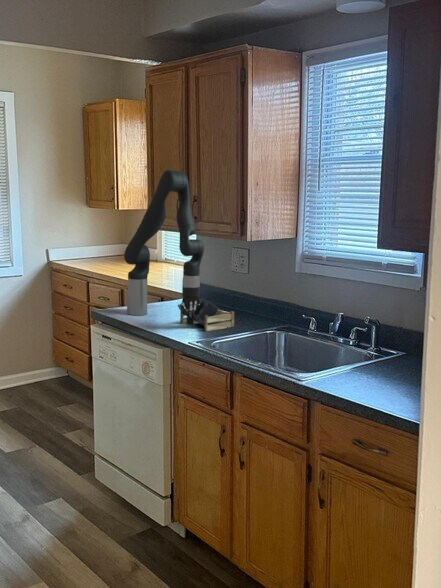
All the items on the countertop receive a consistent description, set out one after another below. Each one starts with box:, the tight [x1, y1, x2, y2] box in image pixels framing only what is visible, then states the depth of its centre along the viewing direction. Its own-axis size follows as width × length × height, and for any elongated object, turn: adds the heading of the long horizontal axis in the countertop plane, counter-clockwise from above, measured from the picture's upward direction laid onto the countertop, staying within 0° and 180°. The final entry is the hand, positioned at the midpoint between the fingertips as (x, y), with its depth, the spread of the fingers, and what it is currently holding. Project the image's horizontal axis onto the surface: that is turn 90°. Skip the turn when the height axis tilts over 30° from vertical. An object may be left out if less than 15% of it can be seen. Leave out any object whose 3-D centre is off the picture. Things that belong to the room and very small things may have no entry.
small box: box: [194, 297, 220, 327], centre depth 285 cm, size 11×6×10 cm
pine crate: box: [179, 309, 235, 332], centre depth 287 cm, size 18×16×7 cm
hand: (190, 324), depth 280 cm, fingers closed
